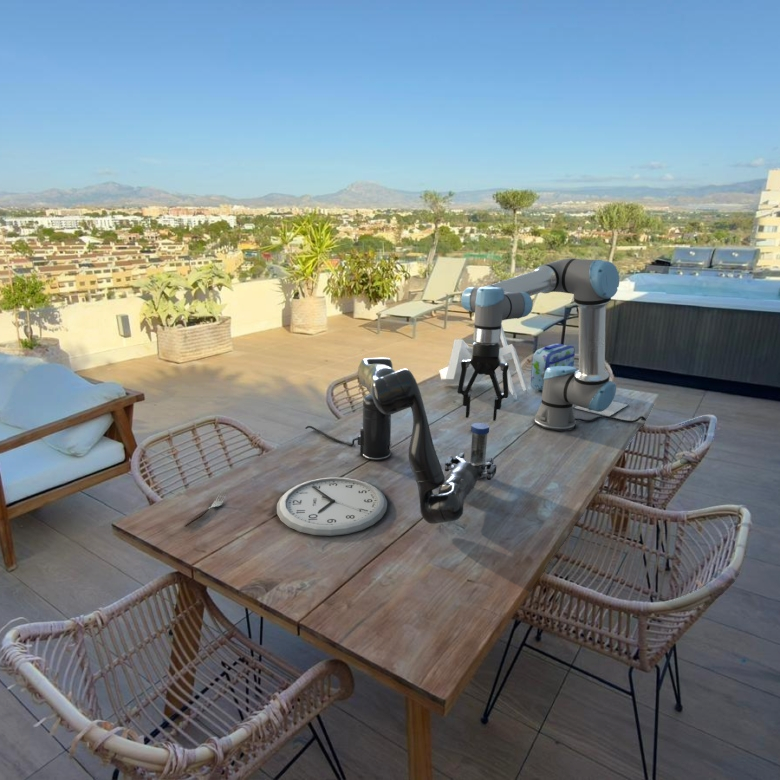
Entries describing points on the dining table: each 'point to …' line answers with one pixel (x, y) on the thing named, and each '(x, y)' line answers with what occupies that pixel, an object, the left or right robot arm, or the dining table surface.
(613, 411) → the invitation card
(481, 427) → the lid
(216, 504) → the fork
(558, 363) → the lunch box
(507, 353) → the white plastic object
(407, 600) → the dining table surface
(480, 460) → the jar
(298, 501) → the wall clock
